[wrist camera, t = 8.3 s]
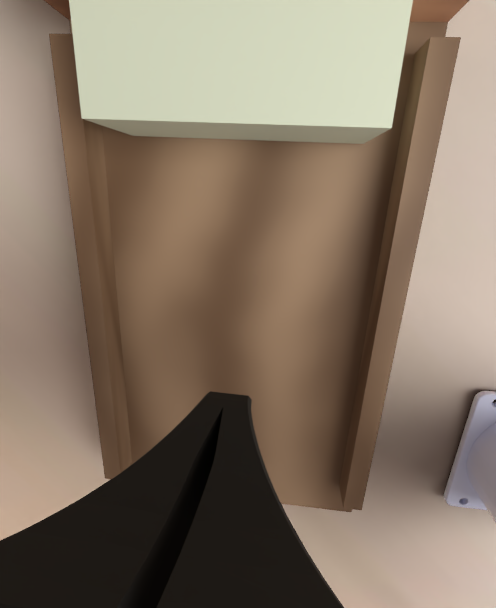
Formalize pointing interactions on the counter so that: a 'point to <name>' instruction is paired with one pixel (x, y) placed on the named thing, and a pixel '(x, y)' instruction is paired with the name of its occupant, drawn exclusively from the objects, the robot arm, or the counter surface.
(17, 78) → the counter surface
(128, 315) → the track
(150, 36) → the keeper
